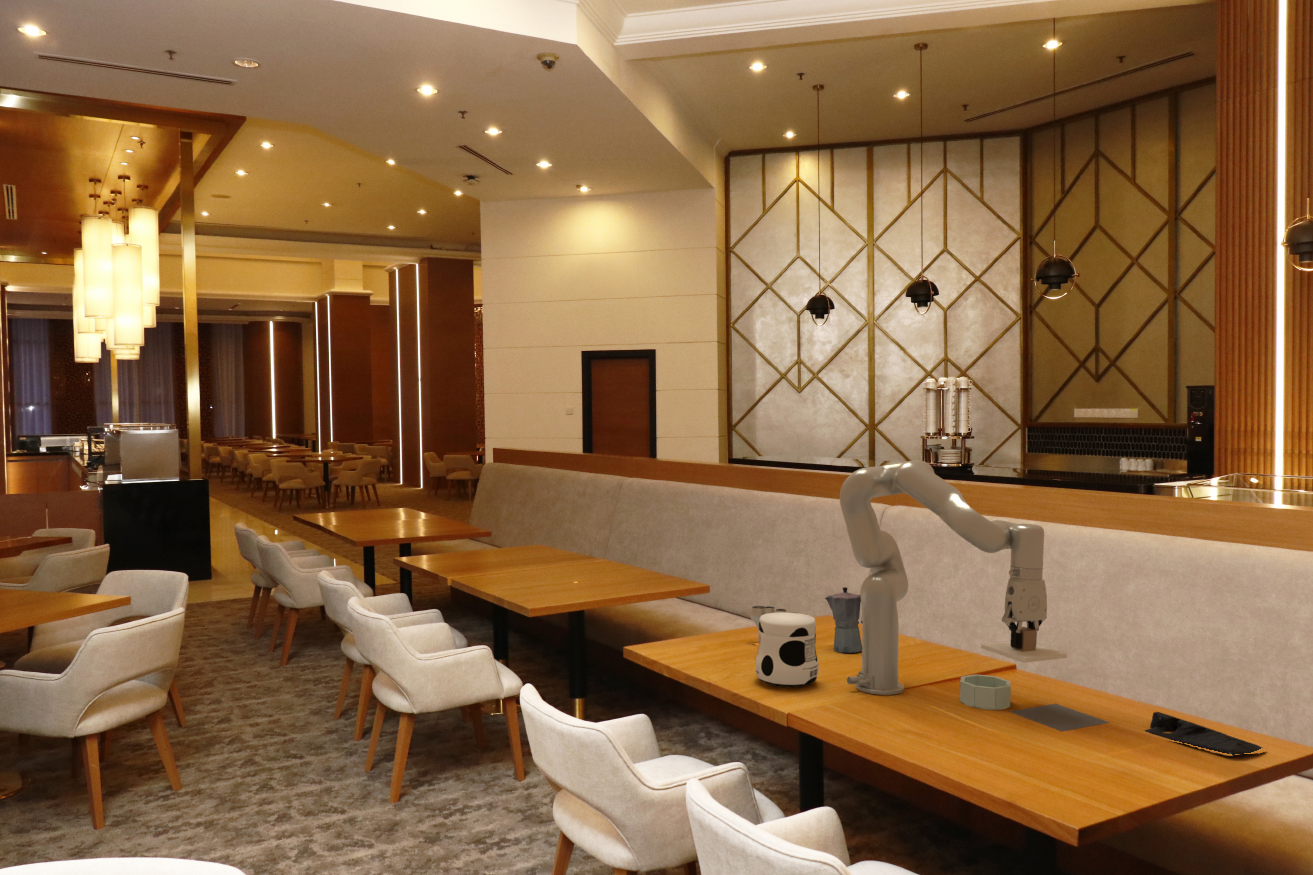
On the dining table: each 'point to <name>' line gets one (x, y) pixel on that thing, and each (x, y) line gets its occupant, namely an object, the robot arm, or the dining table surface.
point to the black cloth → (1198, 735)
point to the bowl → (985, 692)
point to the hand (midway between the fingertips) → (1023, 646)
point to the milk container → (787, 650)
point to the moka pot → (846, 621)
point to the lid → (1025, 649)
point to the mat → (1059, 717)
